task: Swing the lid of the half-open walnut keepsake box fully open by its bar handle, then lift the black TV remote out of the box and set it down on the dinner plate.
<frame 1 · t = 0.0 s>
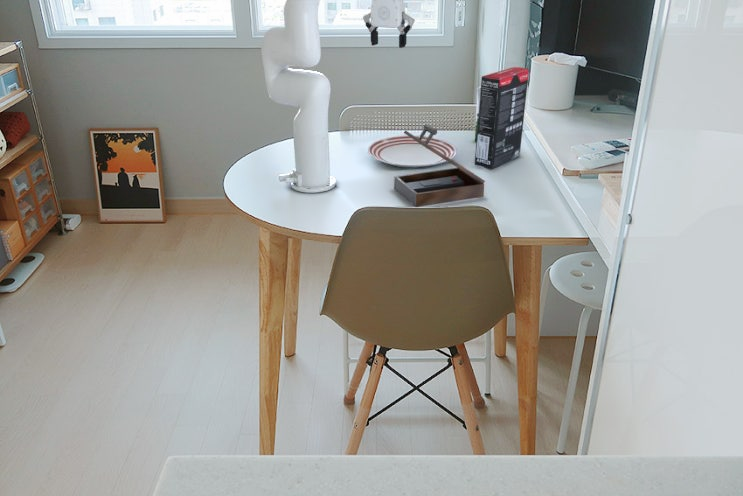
hand: (388, 45, 220), 31 cm above the table, tool pointing down, fingers open, 9 cm apart
graphics card box: (498, 162, 215), on the table
remote: (434, 192, 189), point 1 cm above the table, touching keepsake box
dinner plate: (411, 159, 218), on the table
keepsake box: (438, 195, 190), on the table
milk carton: (489, 141, 234), on the table
lid: (448, 149, 186), point 12 cm above the table, hinge at 35.0°
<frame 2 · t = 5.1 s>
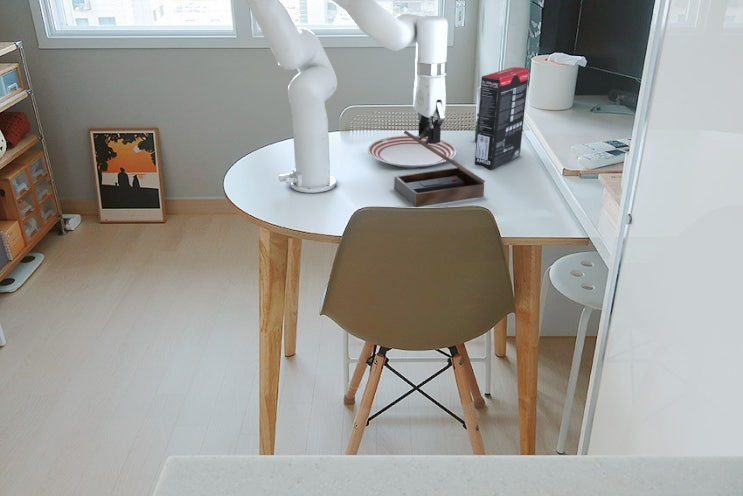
hand: (429, 139, 182), 16 cm above the table, tool pointing down, fingers closed on lid, 5 cm apart
lid: (448, 149, 186), point 12 cm above the table, hinge at 35.0°, touching gripper
everything else where it was.
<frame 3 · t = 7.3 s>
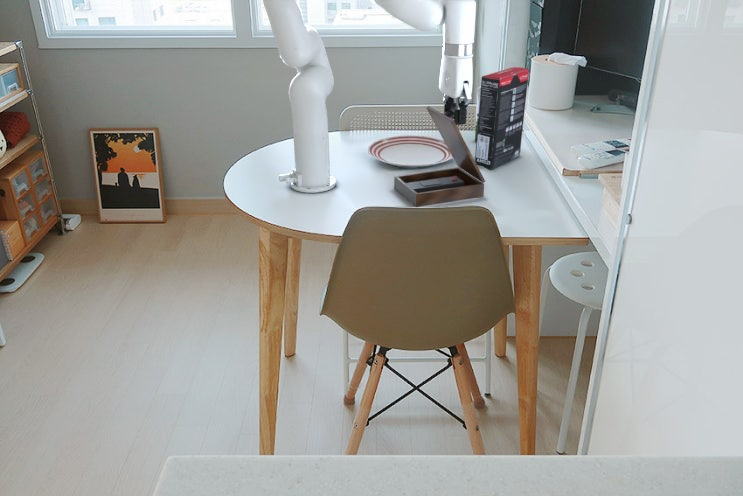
hand: (454, 120, 183), 20 cm above the table, tool pointing down, fingers closed on lid, 5 cm apart
lid: (462, 139, 186), point 15 cm above the table, hinge at 60.1°, touching gripper
everything else where it was.
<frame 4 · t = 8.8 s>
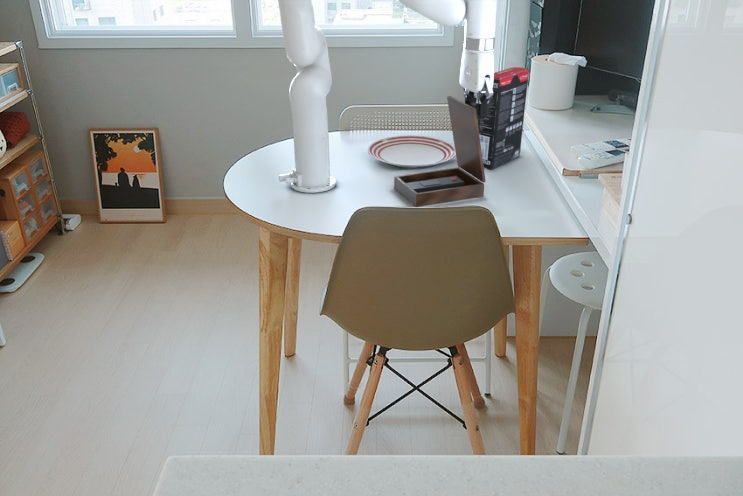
hand: (475, 115, 184), 21 cm above the table, tool pointing down, fingers closed on lid, 5 cm apart
lid: (473, 136, 187), point 15 cm above the table, hinge at 78.3°, touching gripper
everything else where it was.
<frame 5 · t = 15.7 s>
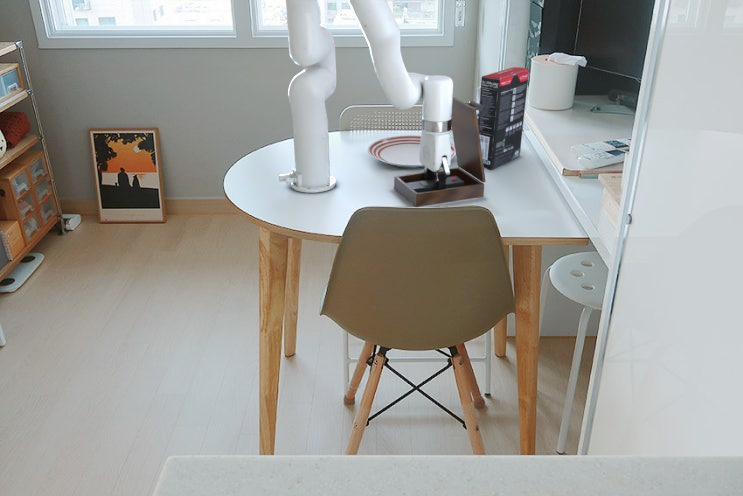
hand: (434, 190, 189), 1 cm above the table, tool pointing down, fingers closed on remote, 5 cm apart
remote: (434, 192, 189), point 1 cm above the table, touching gripper, keepsake box
lid: (473, 136, 187), point 15 cm above the table, hinge at 78.5°
everything else where it was.
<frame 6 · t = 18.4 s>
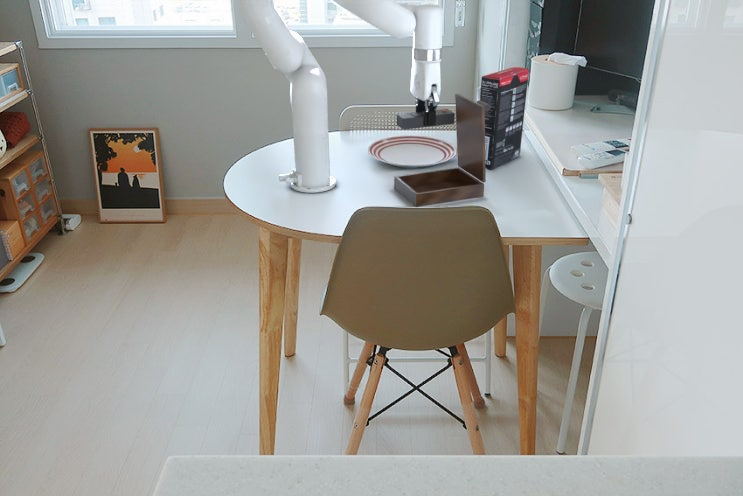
hand: (425, 122, 192), 17 cm above the table, tool pointing down, fingers closed on remote, 5 cm apart
remote: (425, 124, 192), point 17 cm above the table, touching gripper
lid: (477, 136, 187), point 15 cm above the table, hinge at 85.2°
everything else where it was.
when the fingers open (4 cm above the table, at t = 23.1 s): remote stays where it is, resting on dinner plate.
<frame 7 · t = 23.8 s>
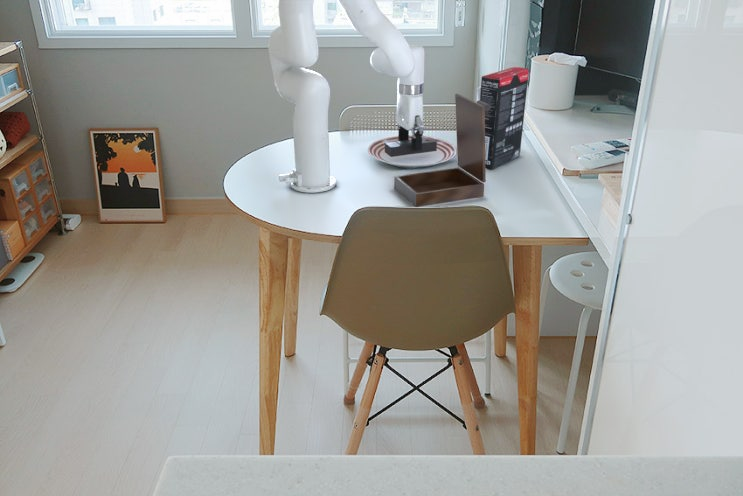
hand: (409, 145, 213), 5 cm above the table, tool pointing down, fingers open, 9 cm apart
remote: (410, 151, 214), point 3 cm above the table, touching dinner plate
dinner plate: (411, 159, 218), on the table, touching remote
everything else where it was.
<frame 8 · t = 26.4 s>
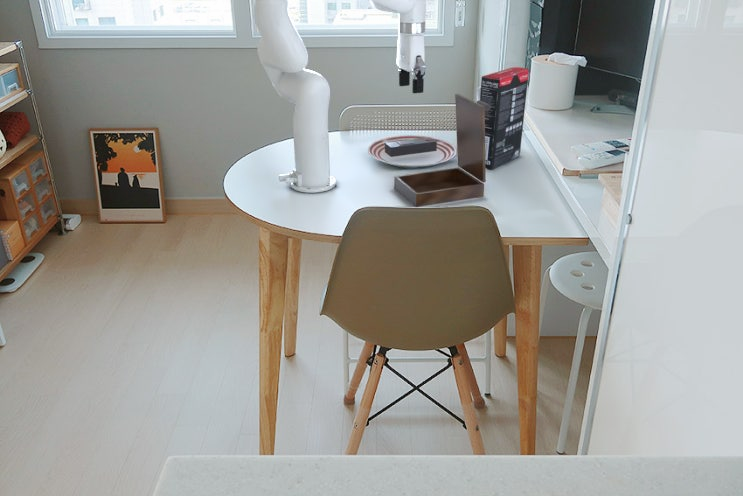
hand: (410, 89, 205), 22 cm above the table, tool pointing down, fingers open, 9 cm apart
nothing on the table moved.
at the end: lid at +85° (first picture: +35°); remote 3.5 cm from the dinner plate (horizontally); remote point 3.3 cm above the table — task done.
